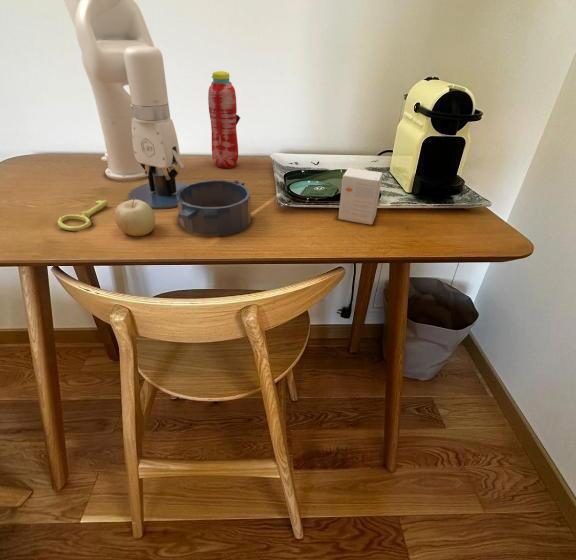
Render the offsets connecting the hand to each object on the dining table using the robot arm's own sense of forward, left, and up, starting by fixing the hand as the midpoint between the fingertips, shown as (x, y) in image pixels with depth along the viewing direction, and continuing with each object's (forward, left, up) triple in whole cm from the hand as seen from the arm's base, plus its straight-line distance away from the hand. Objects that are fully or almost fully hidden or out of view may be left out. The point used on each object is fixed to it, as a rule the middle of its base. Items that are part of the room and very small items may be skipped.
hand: (163, 191), depth 96 cm
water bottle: (-1, +29, -2) cm, 29 cm away
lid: (0, 0, -1) cm, 1 cm away
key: (-6, -18, -2) cm, 19 cm away
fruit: (+8, -17, -2) cm, 19 cm away
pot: (+18, -4, -2) cm, 19 cm away
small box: (+45, +14, -2) cm, 47 cm away
